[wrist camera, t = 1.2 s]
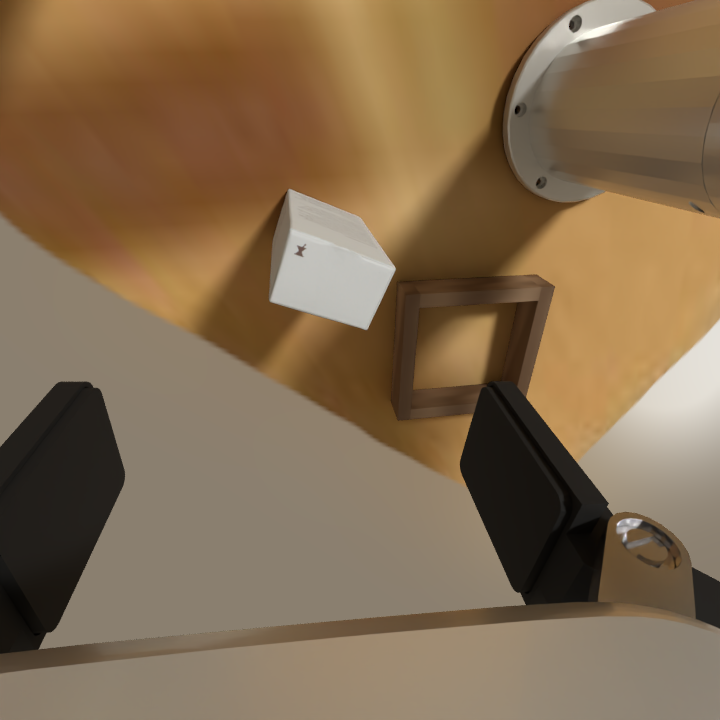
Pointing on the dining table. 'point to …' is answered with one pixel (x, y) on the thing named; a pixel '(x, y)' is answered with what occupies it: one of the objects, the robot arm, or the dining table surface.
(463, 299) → the socket
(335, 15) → the dining table surface
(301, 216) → the skincare box
